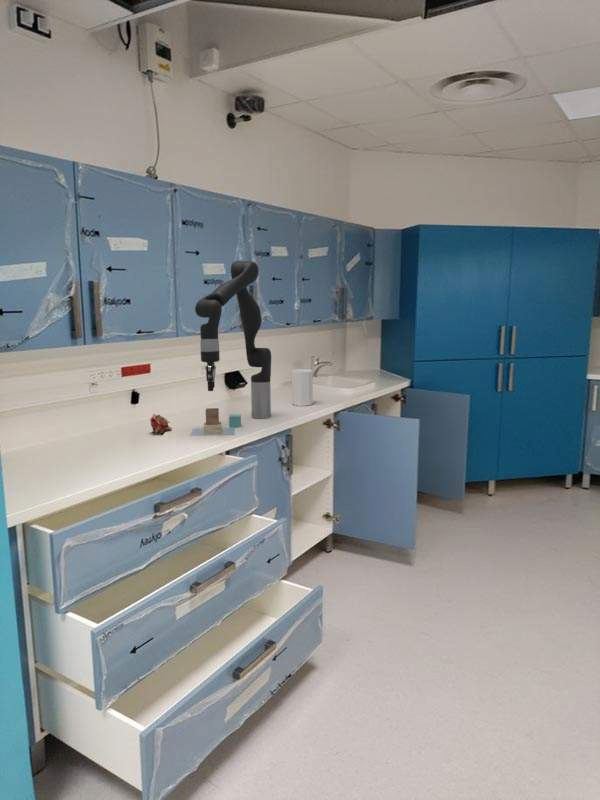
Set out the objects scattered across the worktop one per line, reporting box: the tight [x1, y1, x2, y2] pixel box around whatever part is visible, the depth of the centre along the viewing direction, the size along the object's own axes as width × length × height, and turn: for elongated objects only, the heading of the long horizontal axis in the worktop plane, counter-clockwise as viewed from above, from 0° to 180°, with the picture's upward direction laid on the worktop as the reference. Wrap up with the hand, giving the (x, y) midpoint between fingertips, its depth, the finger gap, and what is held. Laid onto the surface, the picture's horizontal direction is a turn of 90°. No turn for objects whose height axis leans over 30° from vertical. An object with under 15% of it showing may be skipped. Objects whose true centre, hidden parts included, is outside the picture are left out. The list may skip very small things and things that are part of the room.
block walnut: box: [205, 407, 220, 425], centre depth 239 cm, size 5×5×6 cm
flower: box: [149, 413, 173, 435], centre depth 245 cm, size 10×9×8 cm
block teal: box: [228, 413, 242, 428], centre depth 252 cm, size 5×5×6 cm
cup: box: [291, 368, 314, 407], centre depth 310 cm, size 11×11×18 cm
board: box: [189, 427, 236, 437], centre depth 242 cm, size 14×18×1 cm
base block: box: [203, 421, 223, 436], centre depth 240 cm, size 7×7×4 cm
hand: (211, 389), depth 237 cm, fingers open, 8 cm apart
